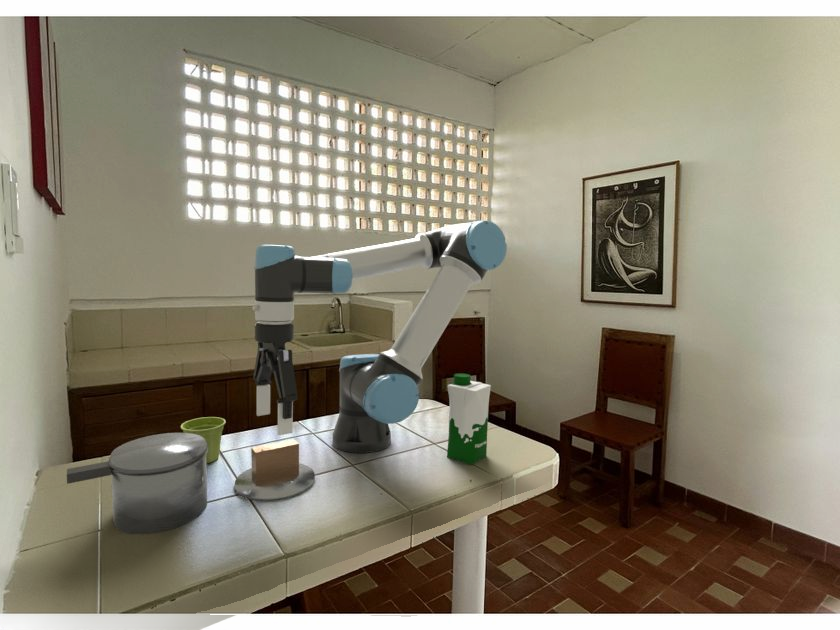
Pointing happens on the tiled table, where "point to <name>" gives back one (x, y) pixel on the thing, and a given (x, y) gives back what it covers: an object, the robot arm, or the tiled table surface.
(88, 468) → the grey saucepan
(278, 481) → the lid
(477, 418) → the milk carton
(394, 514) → the tiled table surface
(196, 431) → the plant pot
